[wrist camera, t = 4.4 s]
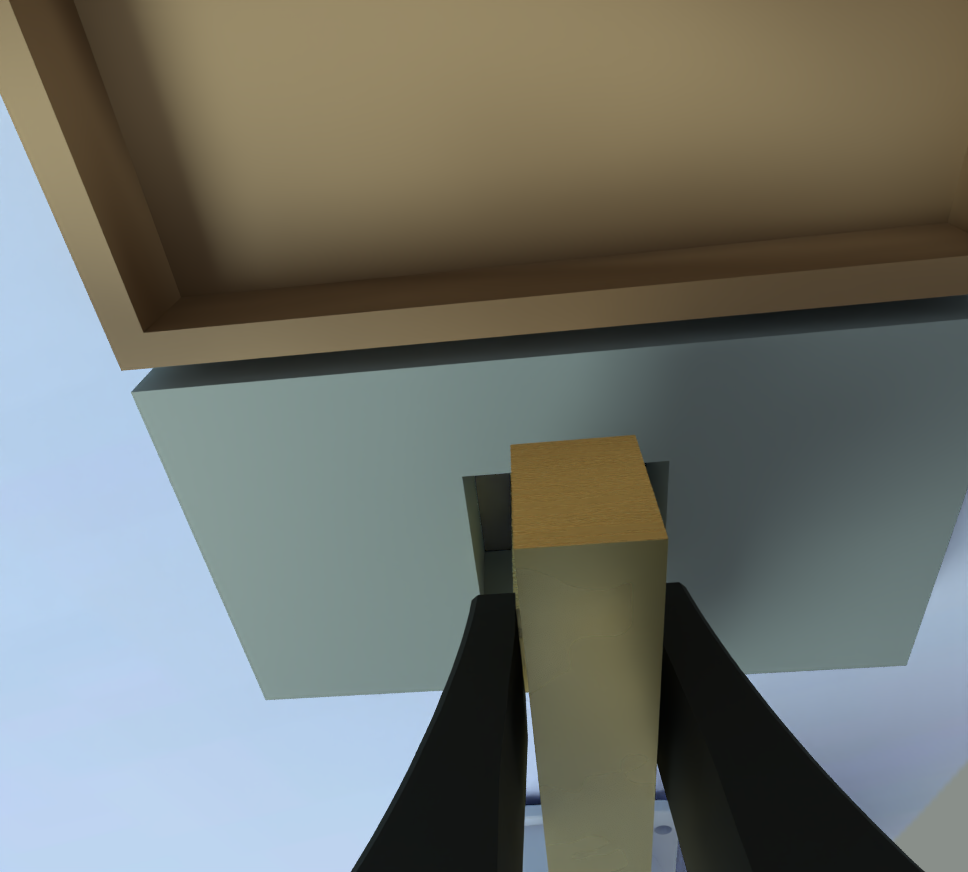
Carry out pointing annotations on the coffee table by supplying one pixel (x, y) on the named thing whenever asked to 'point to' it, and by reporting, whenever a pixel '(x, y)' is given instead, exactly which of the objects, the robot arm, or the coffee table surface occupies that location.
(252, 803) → the coffee table surface
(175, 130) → the tray
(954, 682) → the coffee table surface
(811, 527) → the lock housing
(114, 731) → the coffee table surface
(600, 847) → the key
